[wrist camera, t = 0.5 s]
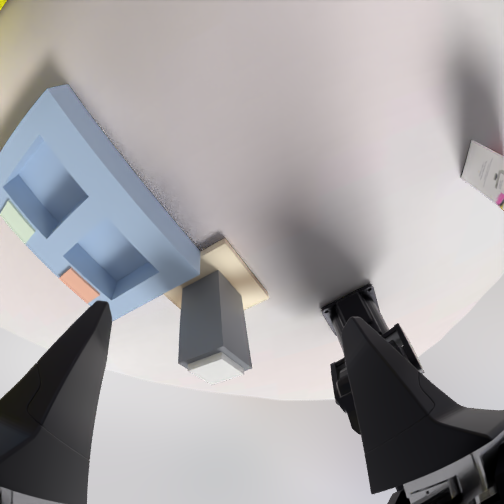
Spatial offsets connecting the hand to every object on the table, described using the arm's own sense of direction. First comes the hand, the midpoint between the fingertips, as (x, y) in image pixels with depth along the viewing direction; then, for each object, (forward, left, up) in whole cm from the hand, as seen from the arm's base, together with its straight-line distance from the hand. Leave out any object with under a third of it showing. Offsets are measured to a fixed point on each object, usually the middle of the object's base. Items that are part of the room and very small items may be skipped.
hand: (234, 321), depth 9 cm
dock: (+4, +11, -13) cm, 18 cm away
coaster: (-9, +7, -13) cm, 17 cm away
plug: (-9, +7, -13) cm, 17 cm away
